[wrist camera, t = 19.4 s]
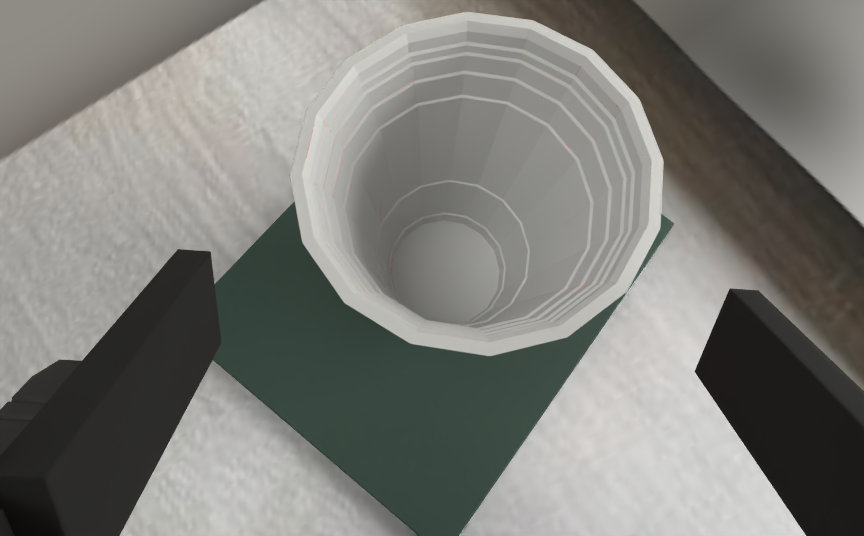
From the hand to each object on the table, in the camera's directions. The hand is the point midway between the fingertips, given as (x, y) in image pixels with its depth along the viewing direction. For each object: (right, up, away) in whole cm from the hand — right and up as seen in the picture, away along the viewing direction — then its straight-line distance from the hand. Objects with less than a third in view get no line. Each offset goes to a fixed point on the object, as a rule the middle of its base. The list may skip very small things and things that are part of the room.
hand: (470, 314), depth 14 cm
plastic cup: (-1, +1, +13) cm, 13 cm away
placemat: (-1, +1, +13) cm, 13 cm away
